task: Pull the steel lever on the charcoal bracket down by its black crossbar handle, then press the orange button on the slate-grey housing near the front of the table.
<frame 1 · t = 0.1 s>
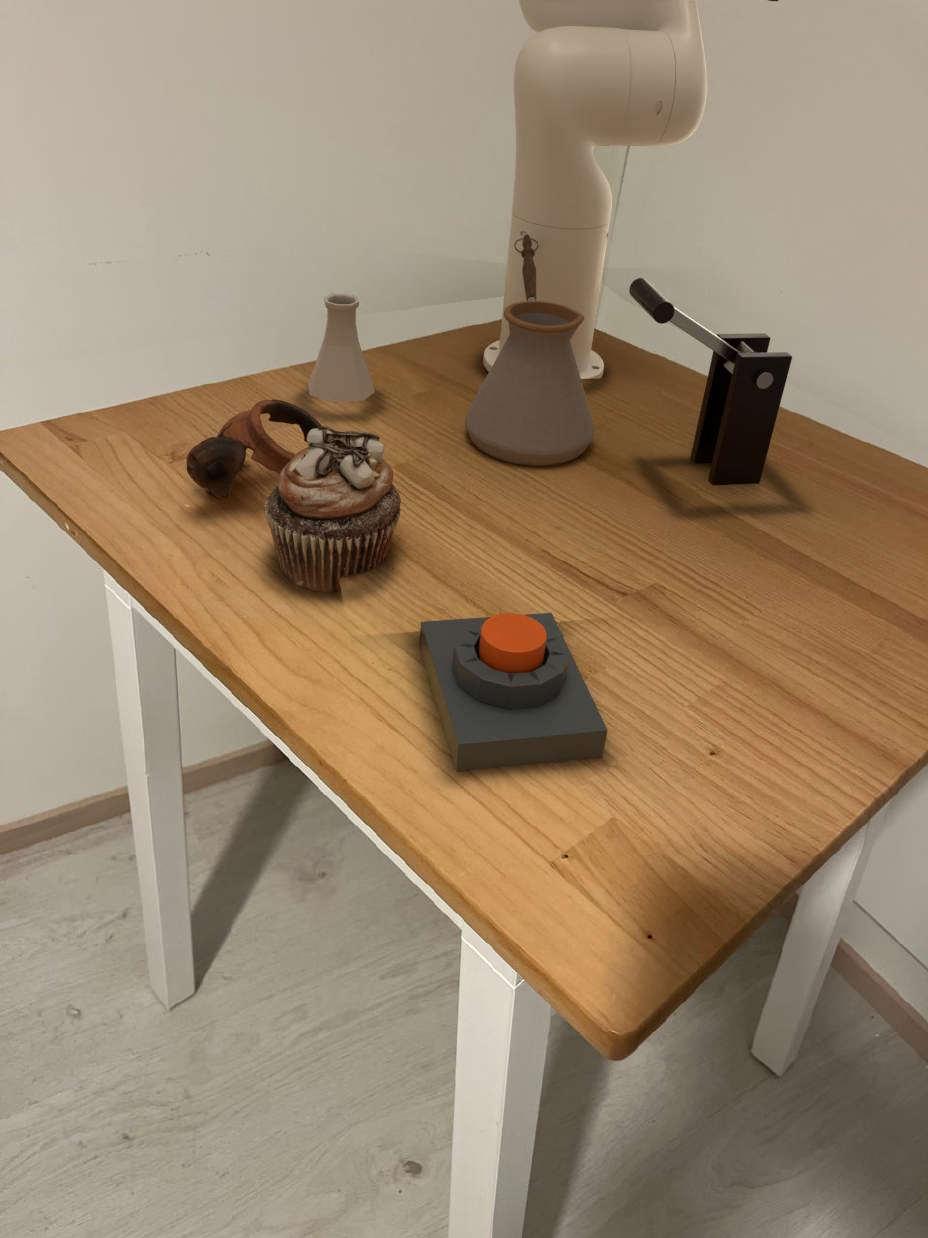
flask: (341, 403, 102), on the table
button: (512, 643, 65), point 4 cm above the table, slide at 0.1 cm
button box: (505, 699, 68), on the table
lever: (704, 335, 85), point 14 cm above the table, hinge at 30.0°
bracket: (720, 484, 94), on the table
cupcake: (332, 565, 80), on the table
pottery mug: (255, 495, 87), on the table
coffee pot: (521, 431, 100), on the table
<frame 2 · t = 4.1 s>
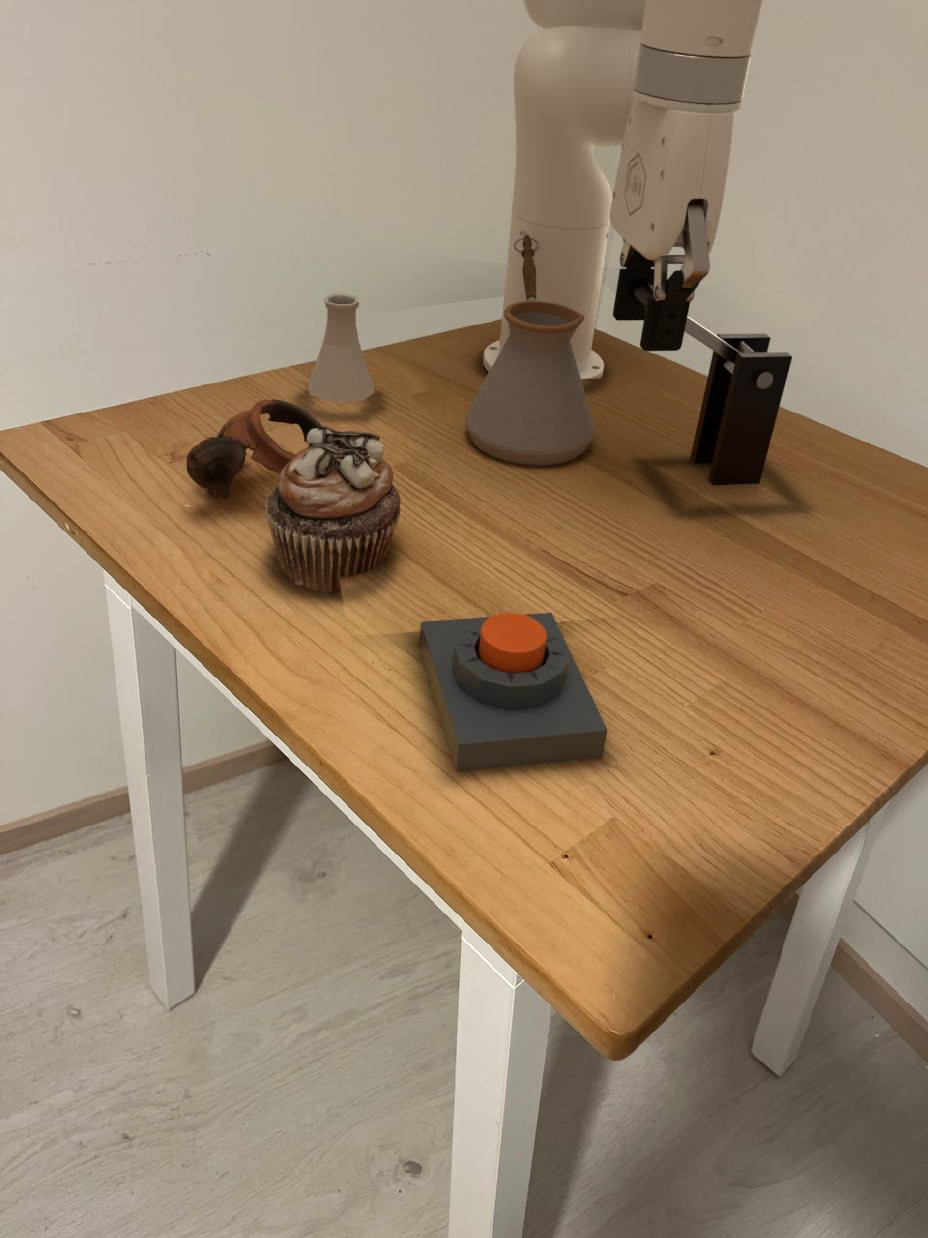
hand: (645, 331, 84), 14 cm above the table, tool pointing down, fingers closed on lever, 5 cm apart
lever: (704, 335, 85), point 14 cm above the table, hinge at 30.0°, touching gripper
everything else where it was.
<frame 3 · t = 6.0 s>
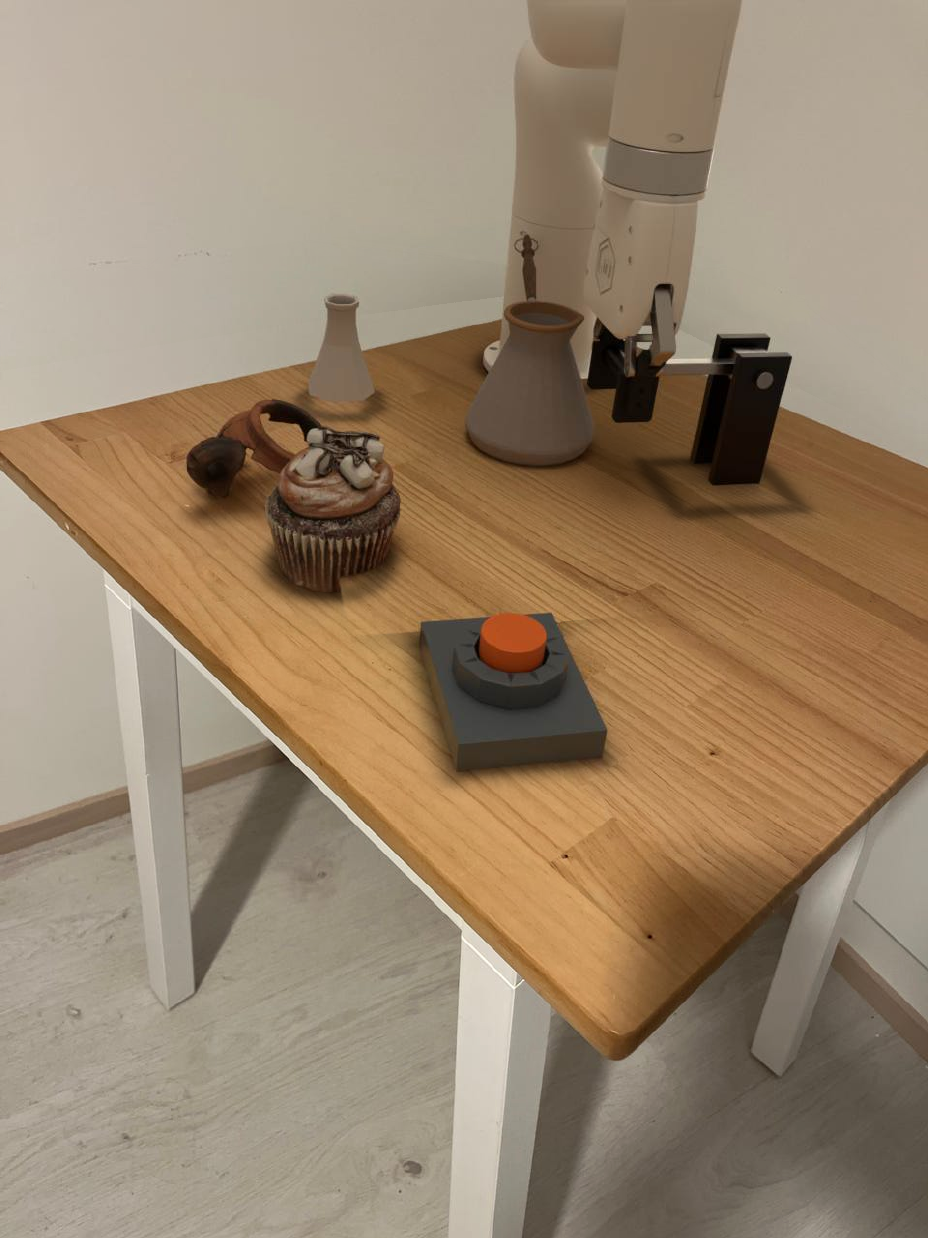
hand: (618, 401, 87), 8 cm above the table, tool pointing down, fingers closed on lever, 5 cm apart
lever: (689, 366, 86), point 11 cm above the table, hinge at 0.2°, touching gripper
everything else where it was.
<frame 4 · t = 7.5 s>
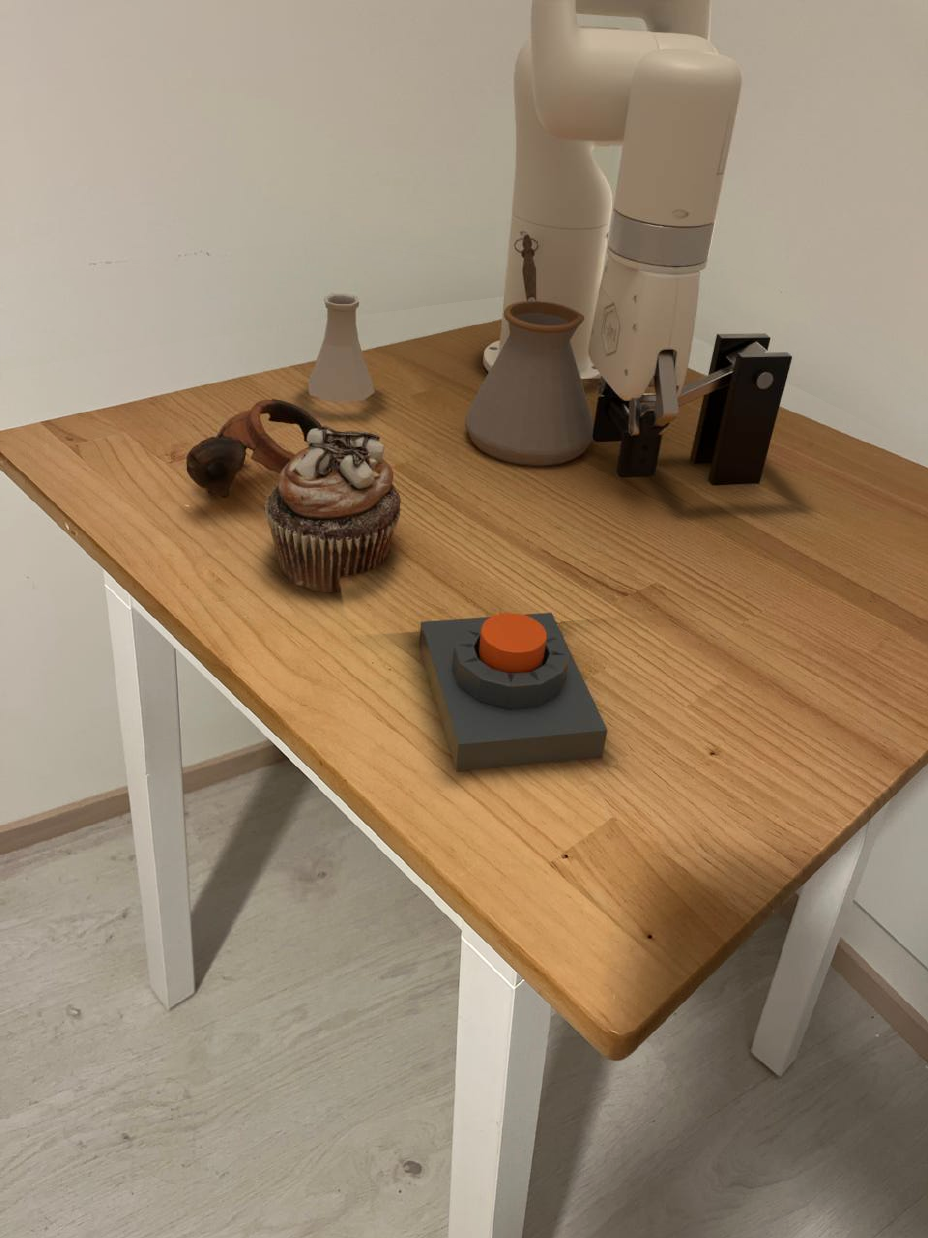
hand: (622, 455, 90), 3 cm above the table, tool pointing down, fingers closed on lever, 5 cm apart
lever: (690, 392, 88), point 9 cm above the table, hinge at -25.1°, touching gripper
everything else where it was.
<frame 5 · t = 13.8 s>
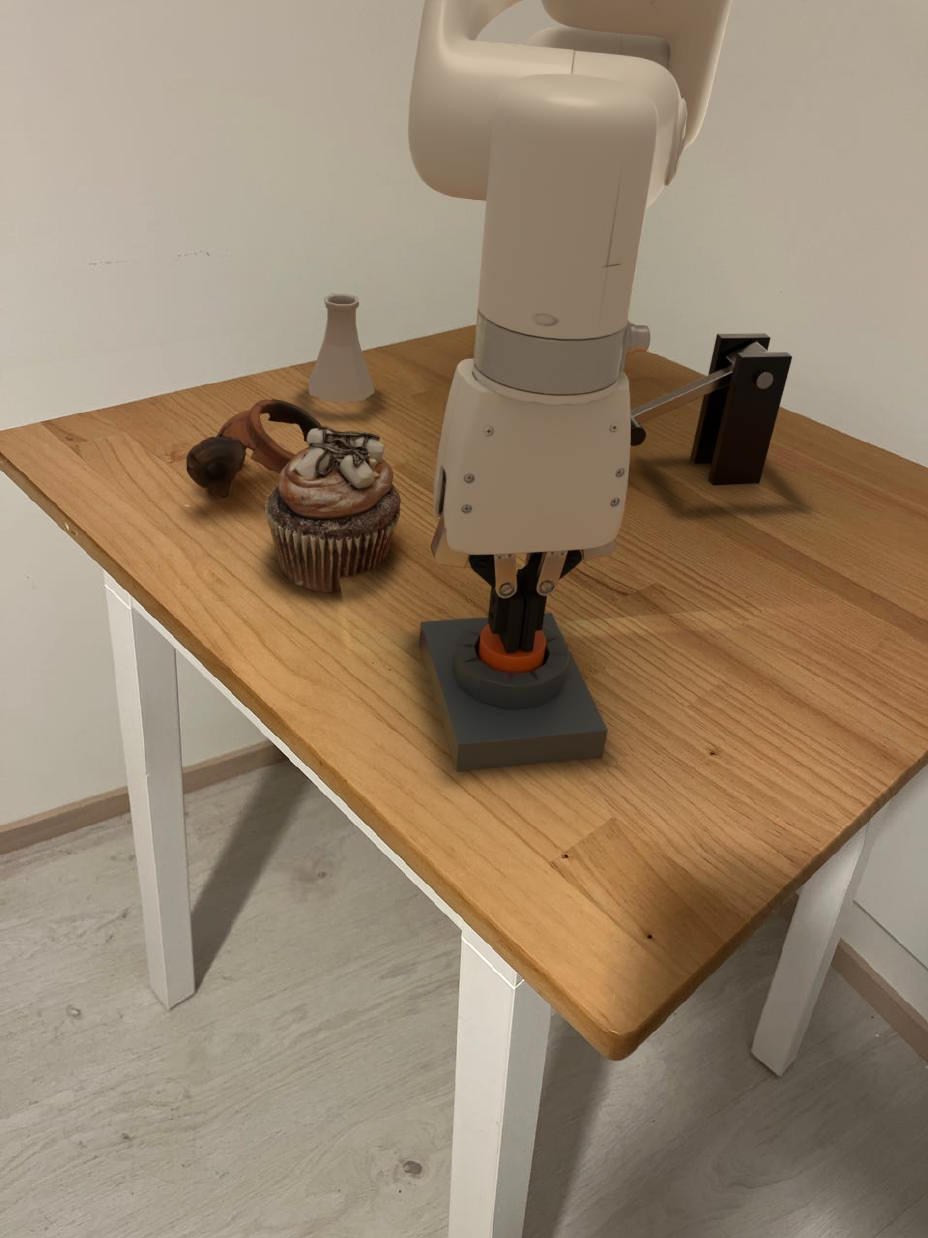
hand: (513, 638, 65), 5 cm above the table, tool pointing down, fingers closed
button: (511, 649, 66), point 4 cm above the table, slide at -0.3 cm, touching gripper
lever: (690, 392, 88), point 9 cm above the table, hinge at -25.1°
everything else where it was.
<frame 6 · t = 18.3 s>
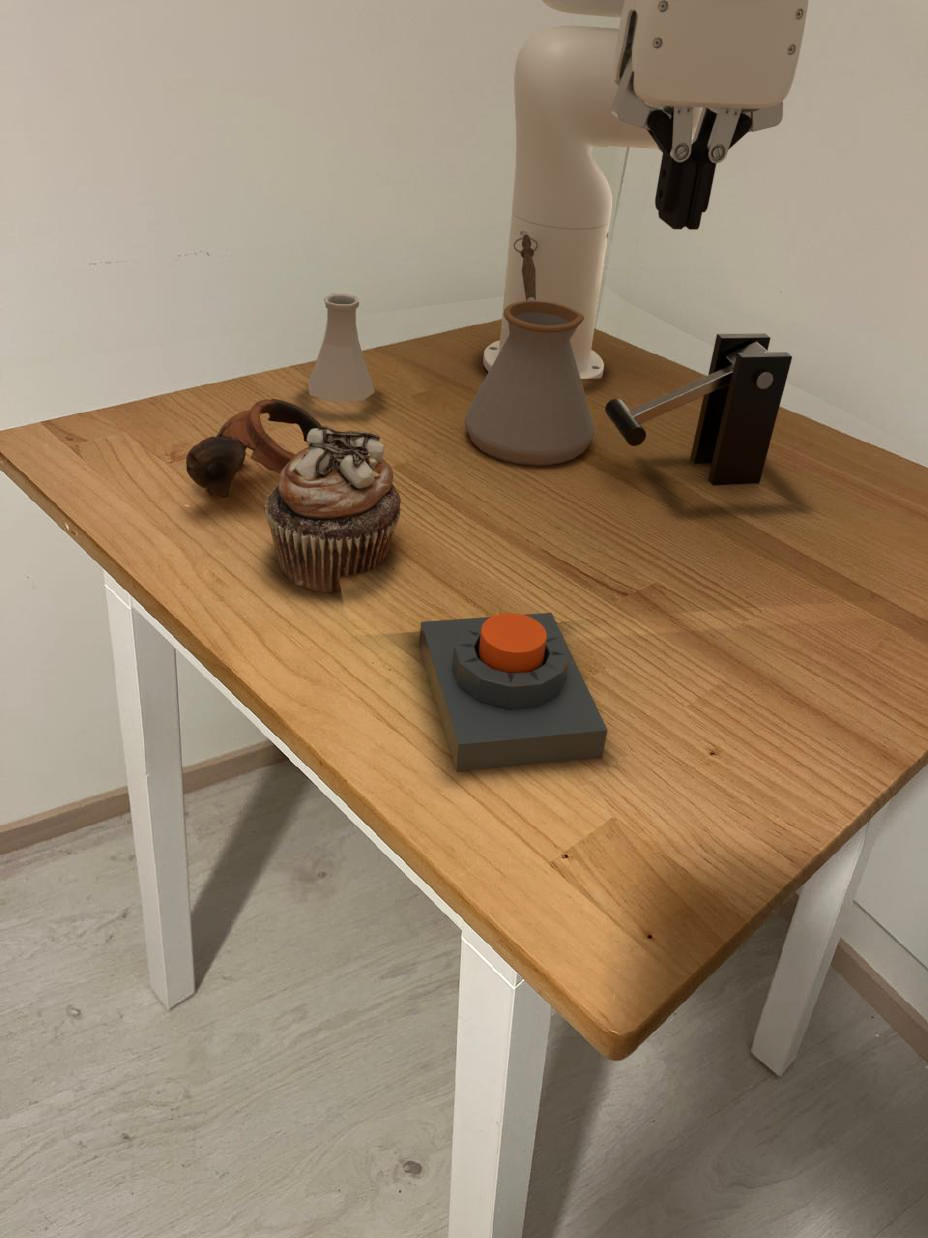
hand: (677, 222, 69), 25 cm above the table, tool pointing down, fingers closed
button: (512, 643, 65), point 4 cm above the table, slide at 0.1 cm
everything else where it was.
at the end: lever at -25° (first picture: +30°); button pushed in 1.1 cm at the most during the clip, back to where it started at the end; button slide at 0.1 cm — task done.
